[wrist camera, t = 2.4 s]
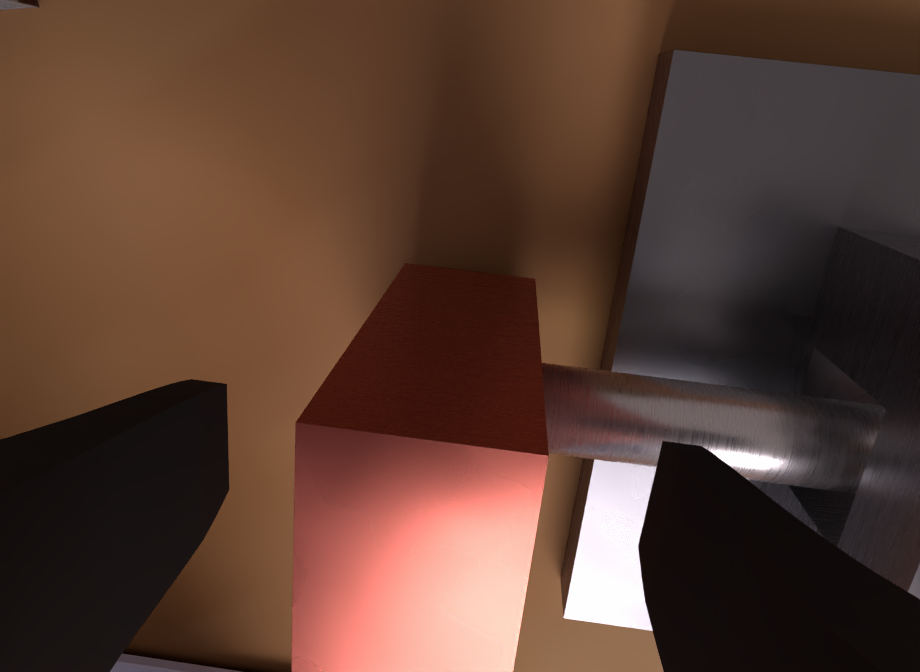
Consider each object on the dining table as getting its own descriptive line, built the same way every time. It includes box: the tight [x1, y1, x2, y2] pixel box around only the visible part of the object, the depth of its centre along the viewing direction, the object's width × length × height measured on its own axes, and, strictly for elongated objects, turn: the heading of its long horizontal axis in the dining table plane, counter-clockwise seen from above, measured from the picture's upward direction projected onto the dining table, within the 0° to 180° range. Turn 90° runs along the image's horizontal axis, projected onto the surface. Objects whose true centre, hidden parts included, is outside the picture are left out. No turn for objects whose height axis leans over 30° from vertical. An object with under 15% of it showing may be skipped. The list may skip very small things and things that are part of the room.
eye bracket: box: [561, 50, 920, 631], centre depth 13 cm, size 10×14×7 cm
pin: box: [292, 263, 886, 672], centre depth 12 cm, size 14×4×8 cm, turn 84°
